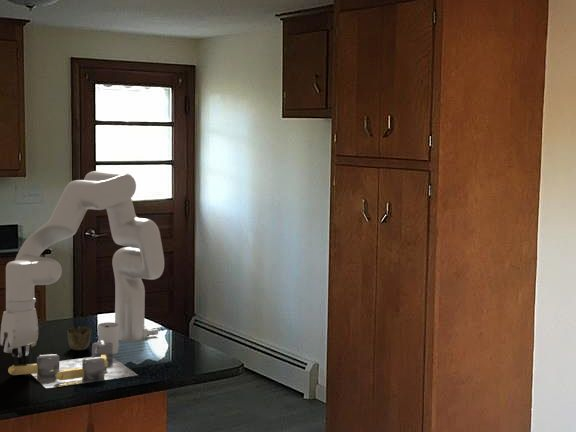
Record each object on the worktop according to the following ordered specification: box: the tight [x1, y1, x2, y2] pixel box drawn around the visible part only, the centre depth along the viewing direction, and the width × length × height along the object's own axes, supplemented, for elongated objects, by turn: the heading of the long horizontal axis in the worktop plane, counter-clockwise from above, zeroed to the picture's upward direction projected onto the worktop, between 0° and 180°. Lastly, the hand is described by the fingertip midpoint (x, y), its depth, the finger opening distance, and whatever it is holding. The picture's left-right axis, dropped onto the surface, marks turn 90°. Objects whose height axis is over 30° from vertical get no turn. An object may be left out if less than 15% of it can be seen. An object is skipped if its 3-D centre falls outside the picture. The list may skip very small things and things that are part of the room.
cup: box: [66, 325, 92, 352], centre depth 255 cm, size 8×7×8 cm
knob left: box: [55, 356, 105, 382], centre depth 225 cm, size 14×6×6 cm, turn 123°
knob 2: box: [91, 340, 114, 367], centre depth 240 cm, size 14×6×6 cm, turn 16°
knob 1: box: [7, 353, 60, 378], centre depth 227 cm, size 14×6×6 cm, turn 111°
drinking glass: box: [97, 321, 120, 355], centre depth 253 cm, size 7×7×10 cm
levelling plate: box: [30, 356, 138, 389], centre depth 234 cm, size 26×23×2 cm
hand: (20, 369), depth 230 cm, fingers closed
